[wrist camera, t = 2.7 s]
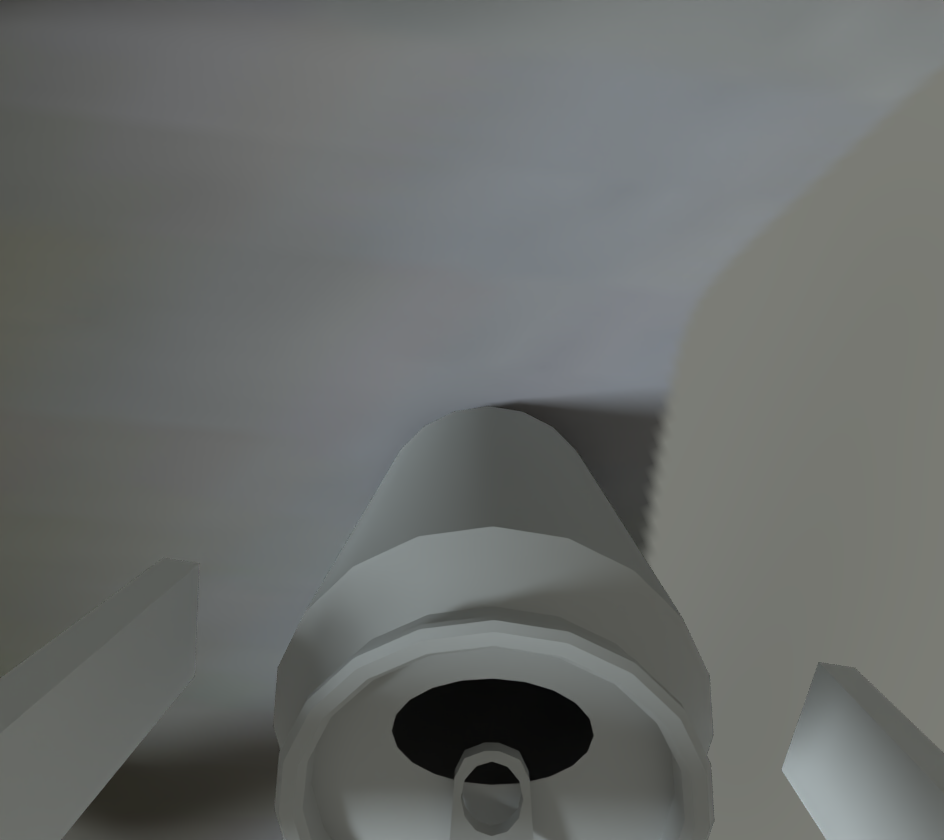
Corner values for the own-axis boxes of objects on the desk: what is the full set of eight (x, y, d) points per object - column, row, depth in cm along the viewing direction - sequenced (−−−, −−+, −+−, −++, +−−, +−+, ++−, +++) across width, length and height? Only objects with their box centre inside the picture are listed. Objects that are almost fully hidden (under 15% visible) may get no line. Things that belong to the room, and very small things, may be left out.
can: (594, 401, 17) (813, 592, 6) (583, 591, 19) (737, 1035, 7) (383, 400, 18) (185, 584, 6) (391, 588, 19) (248, 1018, 8)
